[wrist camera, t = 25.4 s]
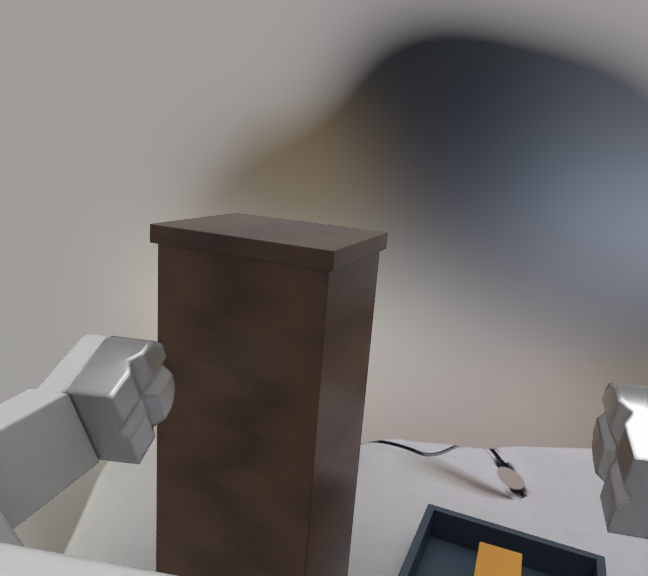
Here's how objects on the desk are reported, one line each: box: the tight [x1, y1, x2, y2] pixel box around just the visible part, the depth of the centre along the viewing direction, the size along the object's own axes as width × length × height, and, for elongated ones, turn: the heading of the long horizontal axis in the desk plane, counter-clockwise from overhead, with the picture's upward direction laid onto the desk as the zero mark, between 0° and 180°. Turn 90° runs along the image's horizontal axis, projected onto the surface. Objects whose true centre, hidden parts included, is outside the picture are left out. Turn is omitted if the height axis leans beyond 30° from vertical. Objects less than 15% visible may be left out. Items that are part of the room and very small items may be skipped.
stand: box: [150, 213, 388, 576], centre depth 35 cm, size 11×9×26 cm
